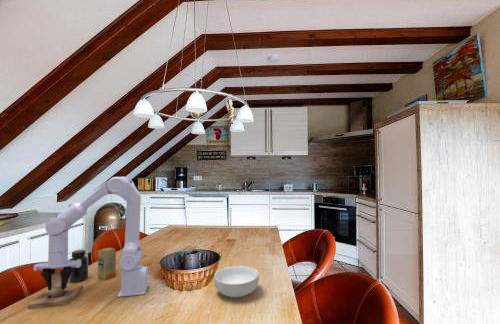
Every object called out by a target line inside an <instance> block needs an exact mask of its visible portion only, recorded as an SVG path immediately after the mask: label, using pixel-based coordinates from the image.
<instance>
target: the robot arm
mask: <svg viewBox="0 0 500 324" xmlns="http://www.w3.org/2000/svg"><path fill="white" fill-rule="evenodd" d="M110 194H111V195H112V194H113V195H115V196H116V195H117V196H119V197H121V199H123V201H125V202H126V207H125V208H126V209H125V210H126V211H125V212H126V213H125V235H124V246H123V249H122V255H121V257H120V258H119V267H120V291H119V292H118V294H117V298H119V297H129V296H140V295H145V294H146V292H147V289H148V288H149V266H144V265H143V264H142V262H141V260H142V258H143V255H144V253H143V250H142V248H141V242H140V228H141V203H142V202H141V201H142V200H141V199H142V196H141V194H140V192H139V190H138V189H137V187H136V185H135V183H134V181H133V180H132V179H130V178H128V177H127V176H113V177H111V178H110V179H109V180H107V181H105V182H104V183H102V184H101V185H100V186H99V187H97V188H96V189H95V190H94V191H92V192H91V193H90V194H89V195H88V196H86V197H85V198H84V199H83V200H82V201H80V202H74V203H70V204H68V206H67V208H66V209H65V210H63V211H62V212H59V213H57V214H56V217H54V218H51V219H49V221H48V222H47V223H46V224H45V231H46V232H47V234H48V253H47V255H48V257H47V258H48V259H47V260H48V261H47V262H41V263H36V264H34V265H33V272H37V271H41V272H40V276H41V277H42V278H43V279H44V281H45V283H46V287H47V289H48V290H49V291H50V290H51V276H52V274H53V273H55V272H56V270H57V269H60V271H59V272H60V274H61V279H62V285H61V288H62V289H65V288H66V287H68V282H69V277H70V274H71V272H72V270H73V269H74V267H76V268H79V267H80V266H81V261H72V260H70V259H69V258H68V255H69V252H68V251H69V230H70V229H71V227H72V226H73V225H74V224H76V223H77V222H79V220H81V219H82V218H83V217H85V216H86V214H87V213H88V209H90V207H91V206H93V205H94V204H95V203H97V202H98V201H100V200H101V199H102V198H103V197H105V196H107V195H110Z"/></svg>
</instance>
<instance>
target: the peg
mask: <svg viewBox="0 0 500 324" xmlns="http://www.w3.org/2000/svg"><path fill="white" fill-rule="evenodd" d="M61 285H62V279H61V274H60V271H55V273H53V274H52V276H51V298H56V297H63V296H64V295H63V294H64V289H62V288H61Z"/></svg>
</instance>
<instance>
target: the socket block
mask: <svg viewBox="0 0 500 324" xmlns="http://www.w3.org/2000/svg"><path fill="white" fill-rule="evenodd" d="M83 290H84V286H83V285H77V286H67V287H66V288H65V289H64V294H63V296H61V297H56V298H51V290H50V291H49V290H48V288H47V289H46V290H45V291H43V292H42V293H41V294H40V295H38V296H37V297H36V298H34V299H33V300H32V301H31V302H29V303H28V304H27V309H28V310H32V309H43V308H51V307H52V308H53V307H61V306H68V305H70V304H71V303H72V302H73V301H74V300H75V298H76V297H78V296H79V295H80V294H81V293H82V291H83Z"/></svg>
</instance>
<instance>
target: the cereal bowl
mask: <svg viewBox="0 0 500 324" xmlns="http://www.w3.org/2000/svg"><path fill="white" fill-rule="evenodd" d="M259 274H260V273H259V271H258V270H257V269H256V268H253V267H251V266H248V265H247V266H245V265H233V266H225V267H222V268H221V269H218V270H217V271H216V272H215V273H214V276H213V280H214V286H215V288H216V290H217V291H218V292H219V293H220V294H222V295H224V296H227V297H229V298H233V299H234V298H235V299H236V298H242V297H245V296H247V295H249V294H250V293H252V292H253V291H256V288H257V287H258V285H259V279H260V275H259Z"/></svg>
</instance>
